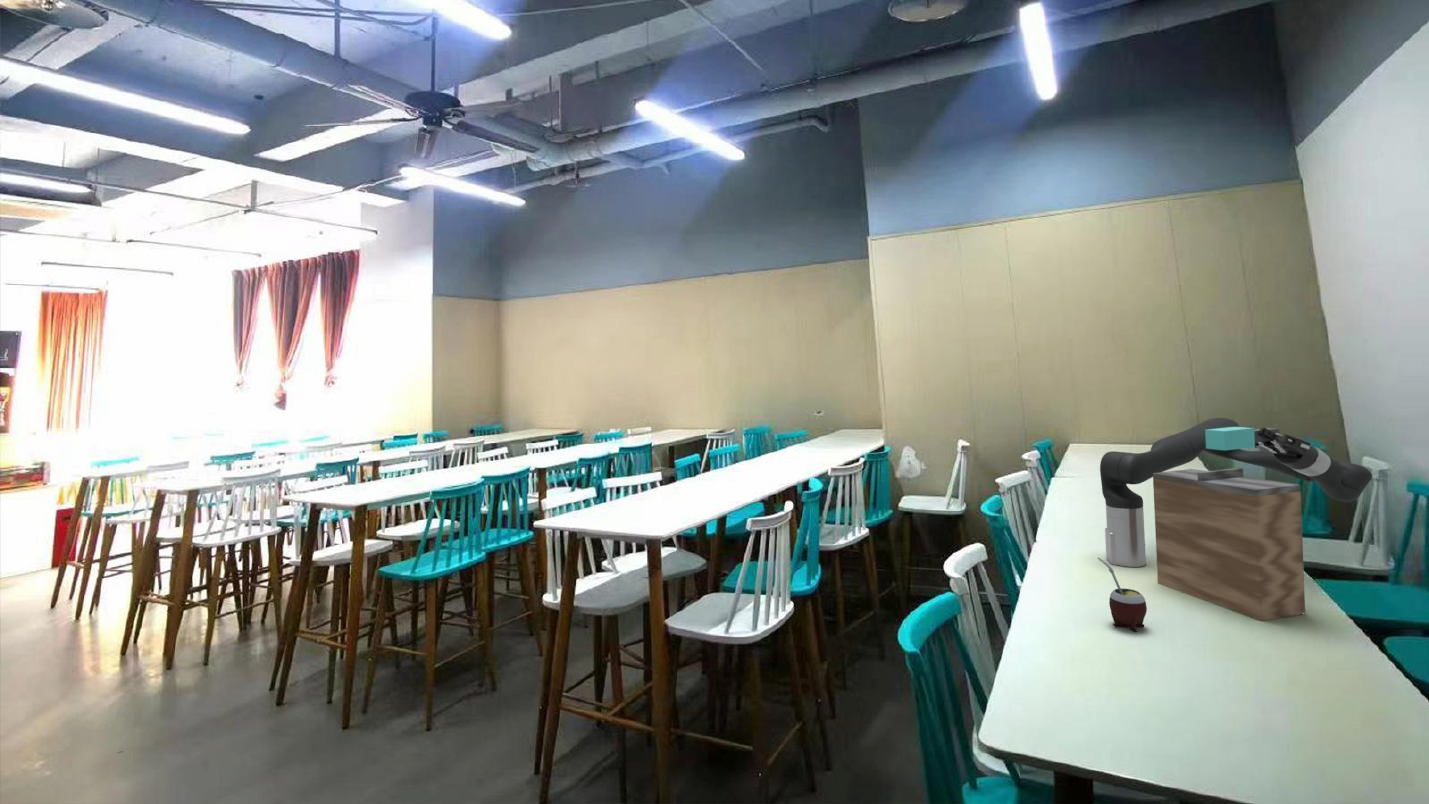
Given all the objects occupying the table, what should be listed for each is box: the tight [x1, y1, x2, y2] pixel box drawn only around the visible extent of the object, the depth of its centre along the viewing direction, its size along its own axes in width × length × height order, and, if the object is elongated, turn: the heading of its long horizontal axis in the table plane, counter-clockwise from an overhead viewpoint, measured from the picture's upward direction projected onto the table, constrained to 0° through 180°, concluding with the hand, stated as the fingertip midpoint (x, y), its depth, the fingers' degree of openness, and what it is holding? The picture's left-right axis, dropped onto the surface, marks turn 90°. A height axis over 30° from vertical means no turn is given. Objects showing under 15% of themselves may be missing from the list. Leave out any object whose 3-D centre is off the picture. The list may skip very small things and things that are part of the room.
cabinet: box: [1152, 467, 1306, 622], centre depth 146 cm, size 13×26×32 cm, turn 8°
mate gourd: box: [1097, 557, 1148, 633], centre depth 135 cm, size 8×8×15 cm
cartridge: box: [1205, 426, 1280, 450], centre depth 154 cm, size 18×5×5 cm, turn 98°
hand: (1254, 430), depth 155 cm, fingers closed on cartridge, 3 cm apart
